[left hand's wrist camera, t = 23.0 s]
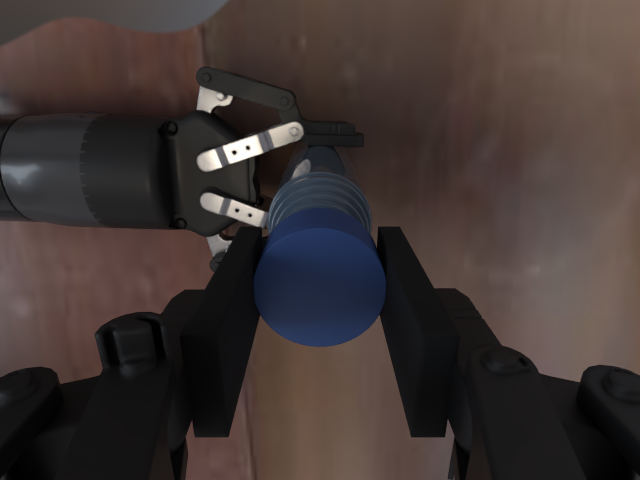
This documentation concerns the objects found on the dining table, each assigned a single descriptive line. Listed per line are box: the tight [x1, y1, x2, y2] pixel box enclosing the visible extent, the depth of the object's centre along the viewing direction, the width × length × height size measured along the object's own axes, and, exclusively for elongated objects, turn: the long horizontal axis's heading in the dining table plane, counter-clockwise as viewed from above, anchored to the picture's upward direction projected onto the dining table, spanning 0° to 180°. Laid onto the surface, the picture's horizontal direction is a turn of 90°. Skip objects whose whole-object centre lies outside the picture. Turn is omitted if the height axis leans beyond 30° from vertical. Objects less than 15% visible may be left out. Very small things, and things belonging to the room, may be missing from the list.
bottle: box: [268, 141, 372, 235], centre depth 23 cm, size 5×5×21 cm
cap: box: [254, 208, 386, 347], centre depth 13 cm, size 4×4×2 cm
